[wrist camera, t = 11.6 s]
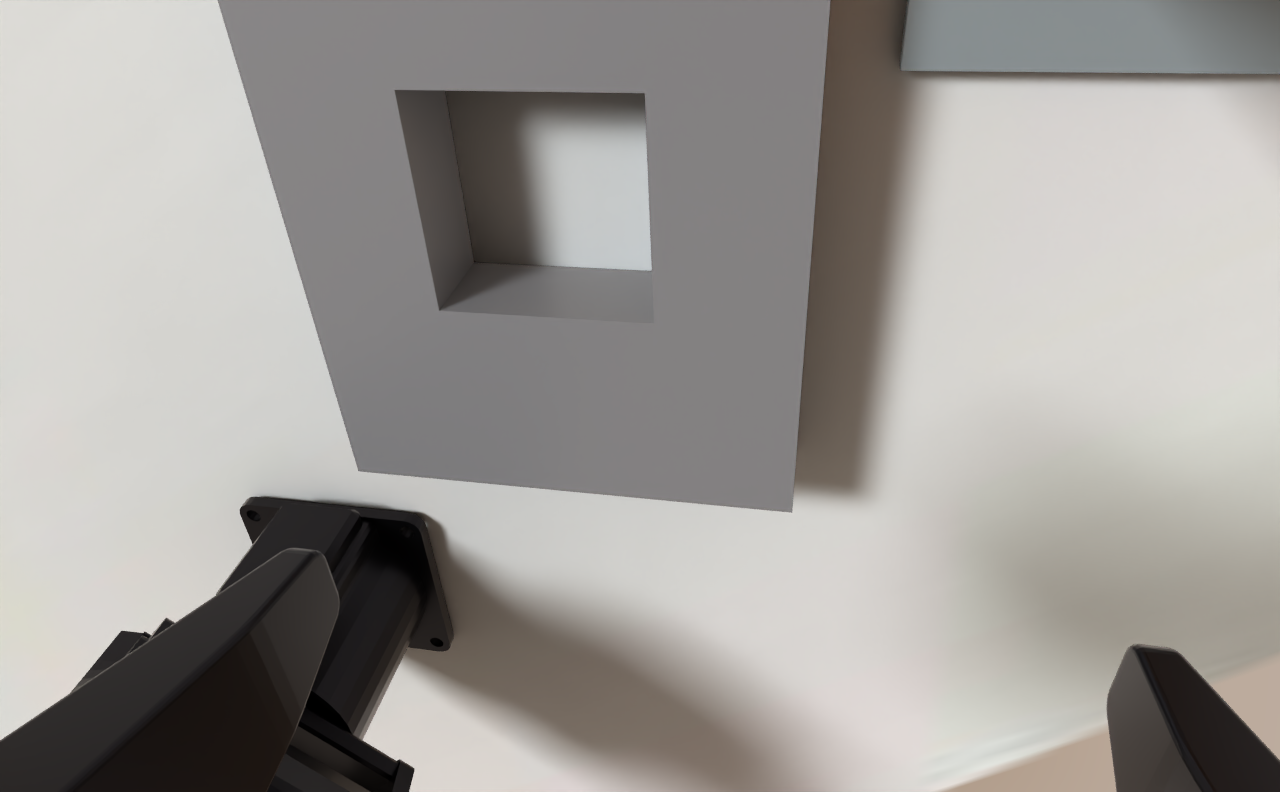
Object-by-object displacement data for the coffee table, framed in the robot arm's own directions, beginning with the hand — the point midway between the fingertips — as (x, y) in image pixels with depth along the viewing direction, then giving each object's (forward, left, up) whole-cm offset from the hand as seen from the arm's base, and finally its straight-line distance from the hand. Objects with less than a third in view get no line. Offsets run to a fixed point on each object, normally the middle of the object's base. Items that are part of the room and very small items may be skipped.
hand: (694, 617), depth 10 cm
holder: (0, +5, -13) cm, 14 cm away
